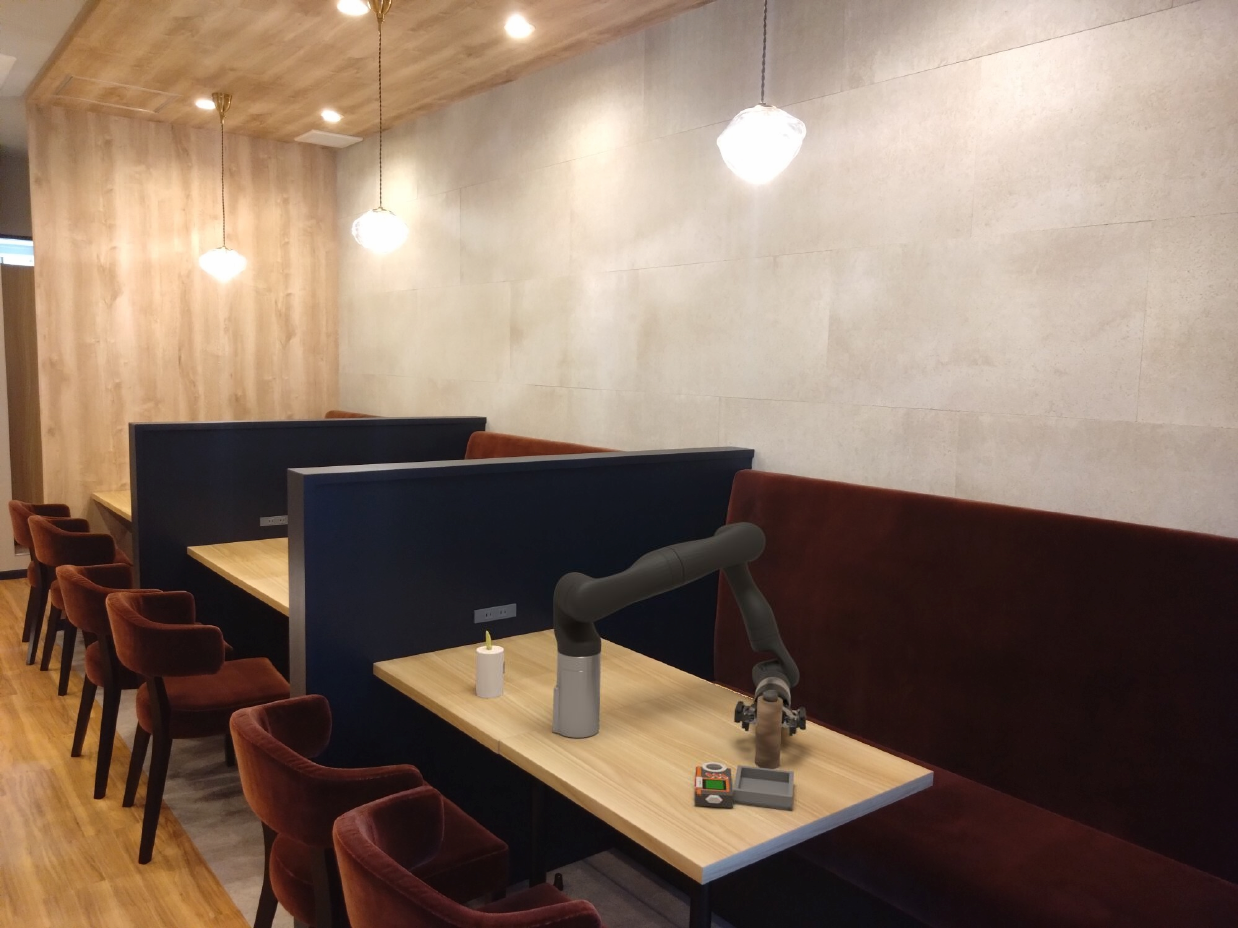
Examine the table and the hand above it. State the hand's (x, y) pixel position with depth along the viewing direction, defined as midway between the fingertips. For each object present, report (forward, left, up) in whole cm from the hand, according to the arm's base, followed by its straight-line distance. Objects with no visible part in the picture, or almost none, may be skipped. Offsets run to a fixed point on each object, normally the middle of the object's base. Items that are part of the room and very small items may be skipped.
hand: (768, 728), depth 177 cm
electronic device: (-9, -14, -8) cm, 18 cm away
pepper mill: (0, 0, -7) cm, 7 cm away
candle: (-65, +21, -7) cm, 69 cm away
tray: (0, -13, -7) cm, 15 cm away
